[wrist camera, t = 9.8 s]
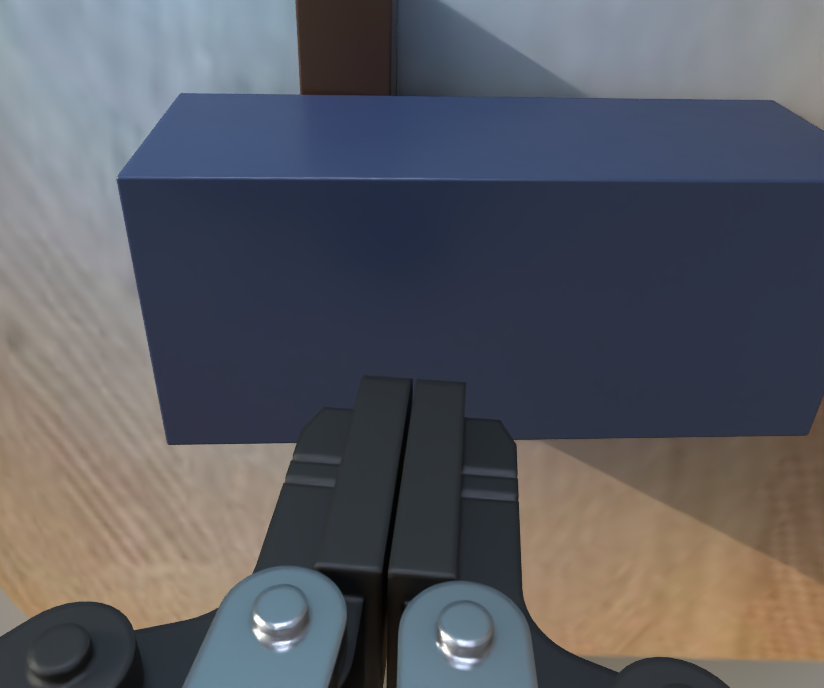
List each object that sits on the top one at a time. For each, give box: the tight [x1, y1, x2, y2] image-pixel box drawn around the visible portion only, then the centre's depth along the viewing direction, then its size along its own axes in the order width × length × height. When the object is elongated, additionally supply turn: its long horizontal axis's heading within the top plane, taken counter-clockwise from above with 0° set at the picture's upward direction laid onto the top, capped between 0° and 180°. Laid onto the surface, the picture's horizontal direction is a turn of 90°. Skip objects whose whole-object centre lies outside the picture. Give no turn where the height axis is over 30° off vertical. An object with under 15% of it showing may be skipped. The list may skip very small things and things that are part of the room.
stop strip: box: [296, 0, 398, 96], centre depth 18 cm, size 2×10×1 cm, turn 179°
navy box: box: [117, 93, 824, 445], centre depth 16 cm, size 5×6×13 cm
